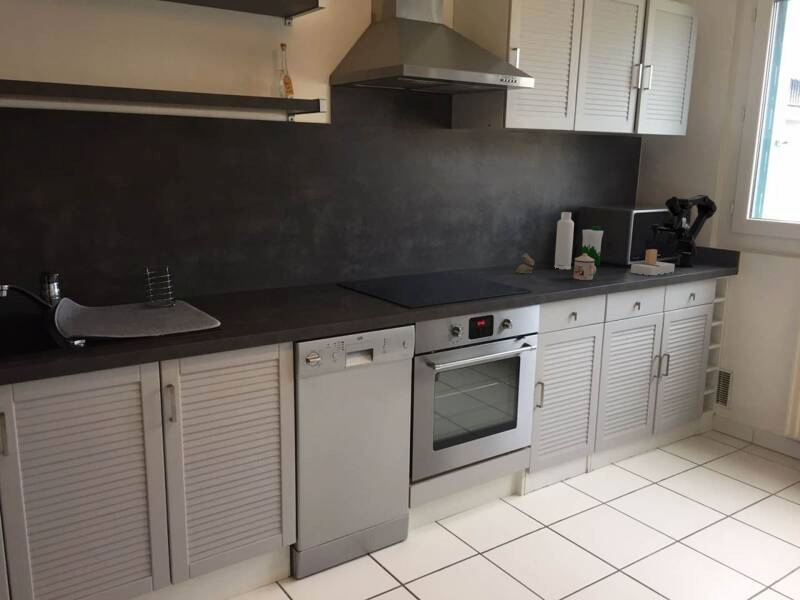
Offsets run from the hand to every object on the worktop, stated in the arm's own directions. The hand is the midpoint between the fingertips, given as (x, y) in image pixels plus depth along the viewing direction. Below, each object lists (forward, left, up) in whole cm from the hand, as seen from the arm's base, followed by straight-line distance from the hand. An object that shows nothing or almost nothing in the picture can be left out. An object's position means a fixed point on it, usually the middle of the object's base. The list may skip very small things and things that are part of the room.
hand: (662, 244), depth 323 cm
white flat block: (+6, +6, -13) cm, 16 cm away
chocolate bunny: (+71, +11, -13) cm, 73 cm away
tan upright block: (+7, +4, -13) cm, 15 cm away
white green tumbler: (+30, -17, -13) cm, 37 cm away
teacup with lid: (+46, +25, -13) cm, 54 cm away
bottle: (+48, -5, -13) cm, 50 cm away
